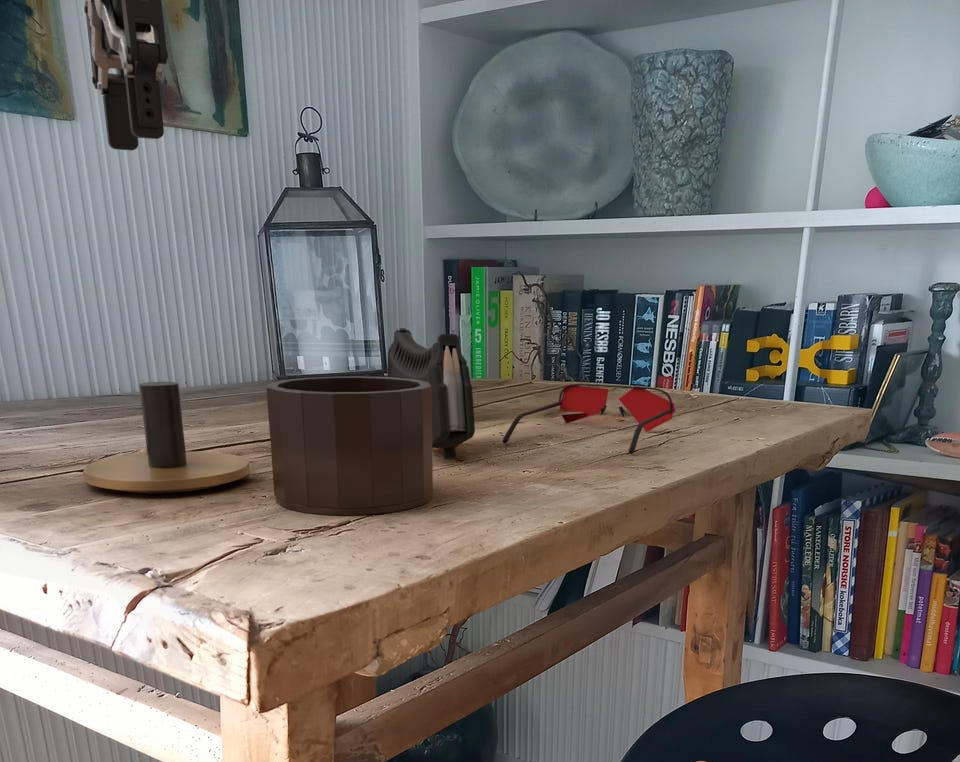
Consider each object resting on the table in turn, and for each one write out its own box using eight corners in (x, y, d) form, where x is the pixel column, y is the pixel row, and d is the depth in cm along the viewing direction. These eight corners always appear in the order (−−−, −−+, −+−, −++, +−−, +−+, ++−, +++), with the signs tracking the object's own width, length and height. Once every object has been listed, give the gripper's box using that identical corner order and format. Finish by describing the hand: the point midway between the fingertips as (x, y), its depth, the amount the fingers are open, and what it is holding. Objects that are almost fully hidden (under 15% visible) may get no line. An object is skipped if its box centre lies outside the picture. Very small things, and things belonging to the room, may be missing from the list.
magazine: (381, 339, 111) (429, 255, 82) (408, 339, 112) (465, 256, 83) (392, 484, 112) (442, 452, 83) (418, 483, 113) (477, 451, 84)
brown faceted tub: (310, 522, 65) (302, 396, 62) (254, 490, 74) (245, 380, 71) (460, 503, 70) (459, 388, 67) (389, 476, 80) (387, 374, 77)
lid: (102, 505, 69) (87, 396, 66) (73, 475, 79) (58, 379, 76) (271, 488, 75) (264, 387, 72) (224, 462, 86) (215, 373, 83)
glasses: (675, 432, 104) (679, 386, 102) (632, 455, 90) (636, 402, 88) (558, 424, 110) (560, 380, 108) (501, 444, 96) (502, 394, 94)
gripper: (36, -94, 70) (68, 150, 76) (66, -165, 58) (101, 128, 64) (140, -74, 73) (163, 156, 79) (187, -137, 62) (210, 137, 68)
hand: (135, 143), depth 72 cm, fingers open, 8 cm apart
